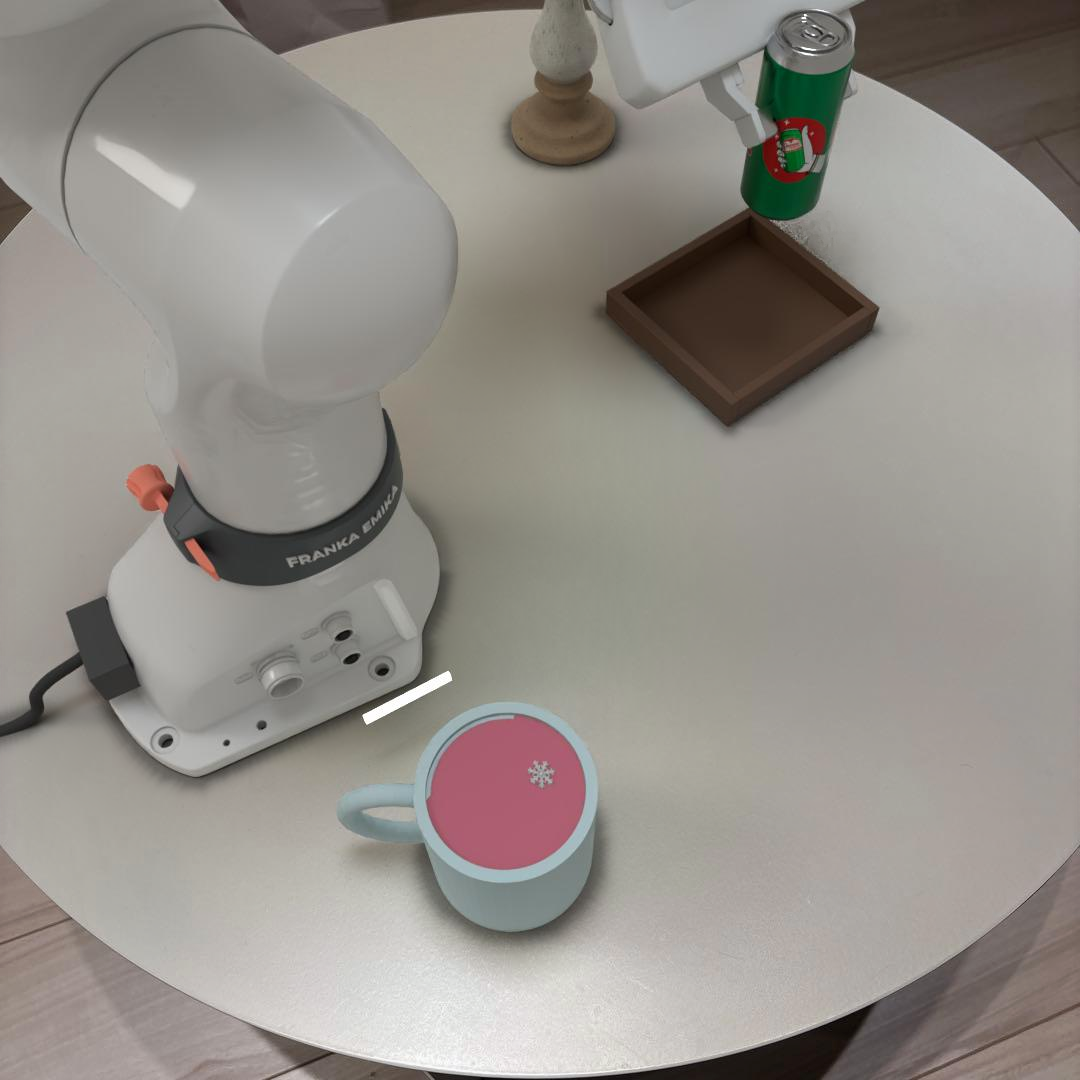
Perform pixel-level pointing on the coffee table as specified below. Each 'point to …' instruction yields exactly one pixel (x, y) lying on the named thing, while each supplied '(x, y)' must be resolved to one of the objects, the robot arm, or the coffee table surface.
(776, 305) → the tray
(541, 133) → the candle holder
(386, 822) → the mug
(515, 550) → the coffee table surface
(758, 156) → the soda can
